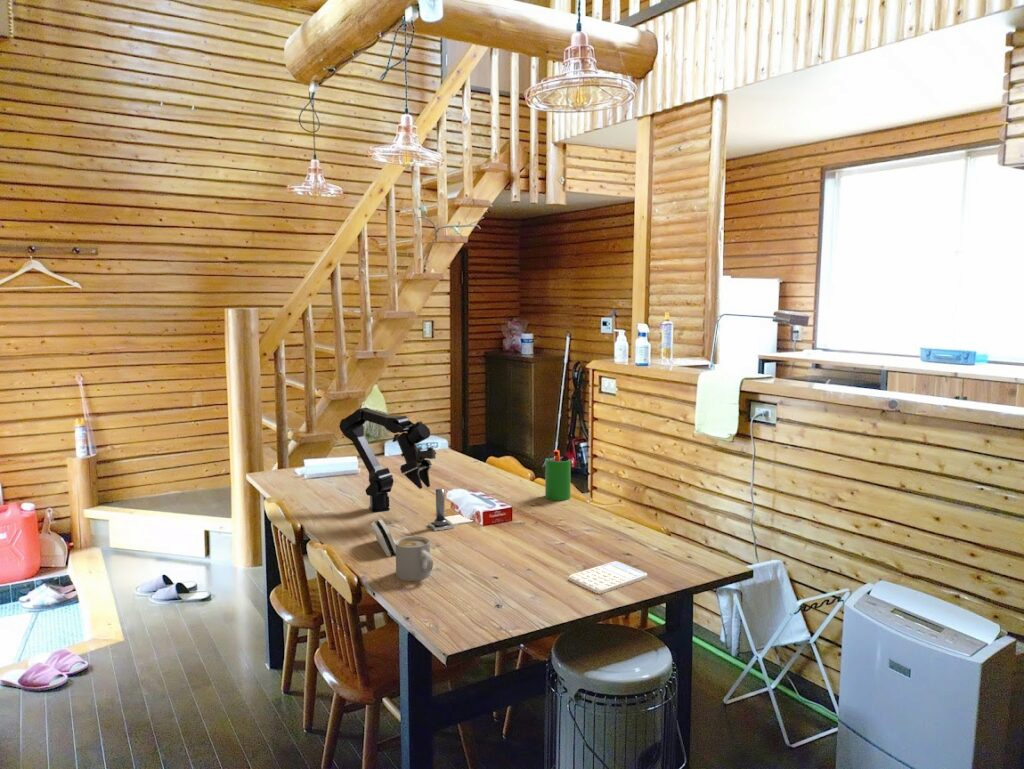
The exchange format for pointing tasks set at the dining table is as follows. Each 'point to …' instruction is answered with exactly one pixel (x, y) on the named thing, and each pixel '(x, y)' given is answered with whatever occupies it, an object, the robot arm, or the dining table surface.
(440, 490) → the grey metal post
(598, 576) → the calculator
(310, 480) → the dining table surface
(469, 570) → the dining table surface
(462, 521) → the mat
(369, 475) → the robot arm
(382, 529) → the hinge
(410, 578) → the coffee mug
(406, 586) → the dining table surface
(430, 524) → the gray square frame
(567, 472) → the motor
